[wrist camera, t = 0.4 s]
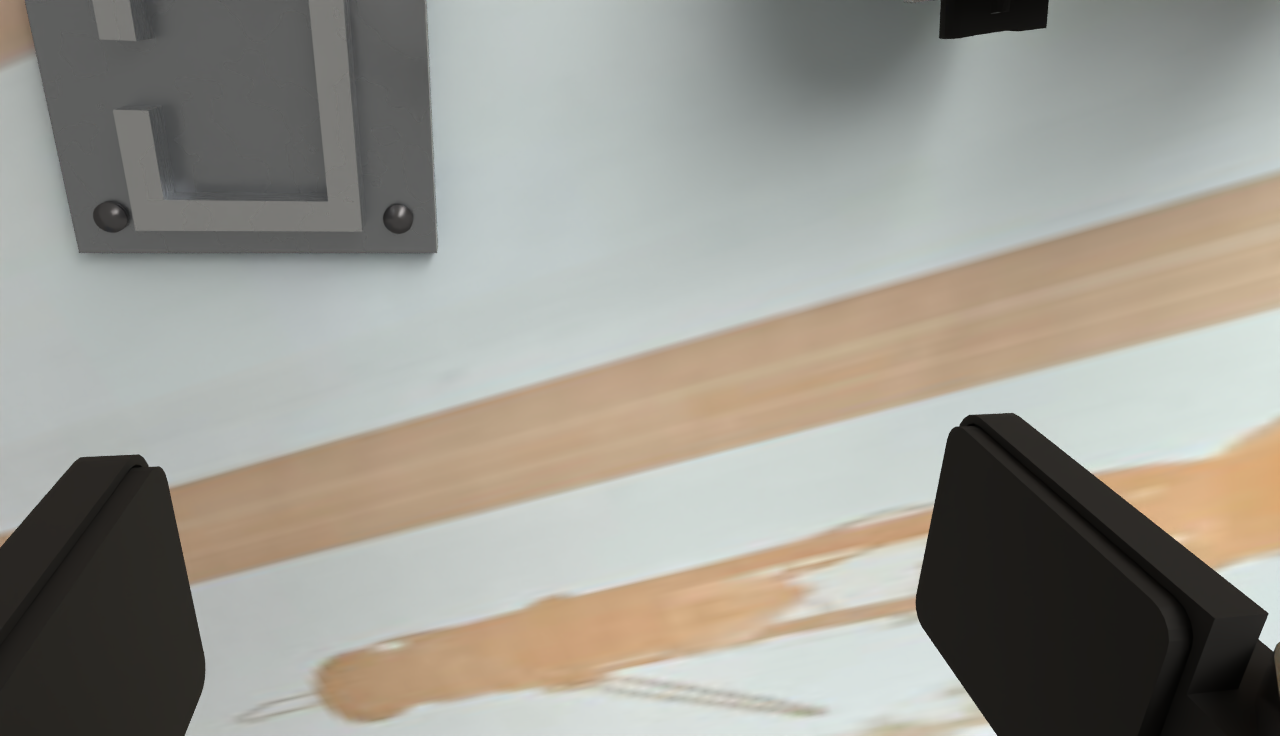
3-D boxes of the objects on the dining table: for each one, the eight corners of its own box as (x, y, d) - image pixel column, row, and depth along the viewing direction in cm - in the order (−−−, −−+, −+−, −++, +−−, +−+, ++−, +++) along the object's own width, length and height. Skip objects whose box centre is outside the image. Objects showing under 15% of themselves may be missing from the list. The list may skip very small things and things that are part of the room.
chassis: (-23, -286, 28) (-67, -310, 26) (415, -244, 31) (409, -263, 28) (89, 245, 35) (62, 263, 33) (437, 246, 38) (435, 262, 36)
